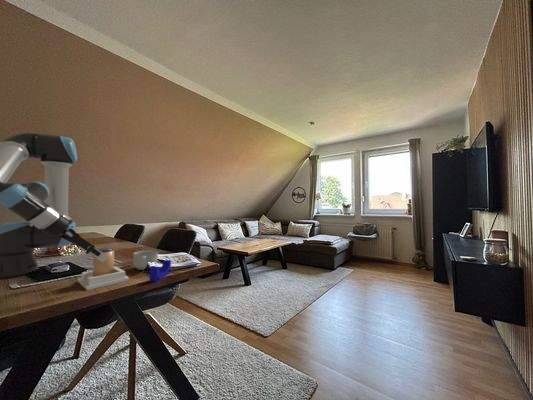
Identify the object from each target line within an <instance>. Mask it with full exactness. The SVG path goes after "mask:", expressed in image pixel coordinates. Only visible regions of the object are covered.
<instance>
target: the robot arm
mask: <svg viewBox="0 0 533 400" xmlns="http://www.w3.org/2000/svg"><path fill="white" fill-rule="evenodd" d="M29 158H30V159H39V160H40V163H41V164H42V166H44V183H43V182H40V181H29V182H26V183H19V182H17V183H16V182H15V183H13V182H8V181H9V180H10V178H11V177H12V175H13V174H14V173H15V172H16V170H17V169H18V168H19V165H20V164H21V162H24V161H26V160H27V159H29ZM77 161H78V153H77V147H76V144H75V141H74V140H73V139H72V138H71V137H66V136H62V135H53V134H44V133H35V132H20V133H16V134H14V135H11V136H8V137H5V138H4V139H3V140H1V141H0V205H1V206H2V207H3V208H5V209H7V210H9V211H11V212H12V213H13V214H16V215H17V216H19V217H20V218H21V219H23V220H24V221H17V222H7V223H3V224H0V279H1V278H3V279H4V278H10V277H17V276H23V275H28V274H30V273H29V272H31V273H33V272H32V271H34V272H36V271H35V270H37V269H38V270H39V263H38V261H37V260H36V257H35V255H34V249H44V248H56V247H57V248H60V247H67V246H70V245H71V244H73V245H75V246H76V247H78V248H79V249H80V250H82V251H83V252H84V253H85V254H86V255H89V256H91V257H92V258H93V256H94V257H95V258H97V259H98V260H100V261H101V262H104V261H105V260H106V259H107V258H108V256H107V255H106V254H104V253H103V252H101V251H100V250H99V249H98V247H96V246H95V245H94V244H91V243H90V242H89V241H88V240H86V239H84V238H83V237H82V236H81V235H80V234H79V233H77V232H76V229H77V224H76V222H74V221H73V219H72V217H70V216H69V185H70V184H69V181H70V180H69V175H70V174H69V173H70V170H69V169H70V168H71V167H73V166H74V163H76V162H77ZM38 270H37V271H38ZM27 273H28V274H27Z"/></svg>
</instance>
